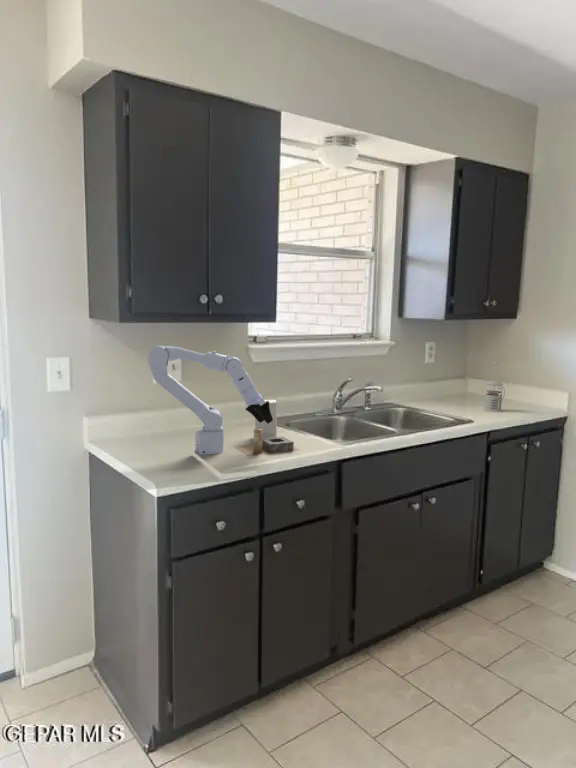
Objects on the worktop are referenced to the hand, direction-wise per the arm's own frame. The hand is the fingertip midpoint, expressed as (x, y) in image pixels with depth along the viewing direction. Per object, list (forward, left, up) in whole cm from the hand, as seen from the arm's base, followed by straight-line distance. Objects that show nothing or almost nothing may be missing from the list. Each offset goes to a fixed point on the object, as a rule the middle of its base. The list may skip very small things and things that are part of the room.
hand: (266, 421), depth 206 cm
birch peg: (-4, -1, -10) cm, 11 cm away
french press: (+141, +36, -12) cm, 146 cm away
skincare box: (+7, +18, -12) cm, 22 cm away
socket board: (+1, +3, -11) cm, 12 cm away
